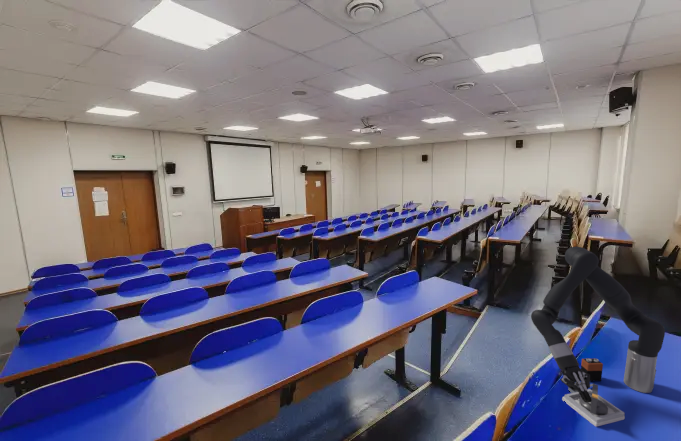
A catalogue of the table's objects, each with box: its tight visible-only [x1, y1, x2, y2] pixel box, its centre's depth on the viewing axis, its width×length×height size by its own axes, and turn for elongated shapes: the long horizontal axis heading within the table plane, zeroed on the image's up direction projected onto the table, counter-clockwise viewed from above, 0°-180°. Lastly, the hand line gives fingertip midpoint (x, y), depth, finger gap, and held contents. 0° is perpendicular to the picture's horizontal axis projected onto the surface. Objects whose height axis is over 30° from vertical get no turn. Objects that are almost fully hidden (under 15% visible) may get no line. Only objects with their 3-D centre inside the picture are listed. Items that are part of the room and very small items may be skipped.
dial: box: [579, 383, 608, 415], centre depth 120 cm, size 12×9×9 cm
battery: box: [580, 357, 604, 382], centre depth 139 cm, size 4×7×10 cm, turn 89°
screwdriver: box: [567, 383, 594, 393], centre depth 133 cm, size 14×3×3 cm, turn 103°
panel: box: [561, 388, 625, 427], centre depth 122 cm, size 14×14×3 cm
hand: (588, 402), depth 118 cm, fingers closed
